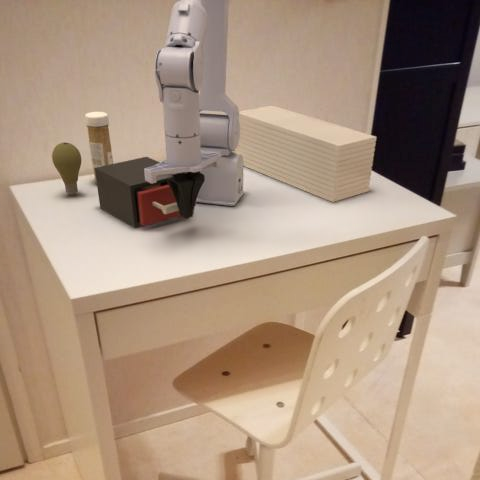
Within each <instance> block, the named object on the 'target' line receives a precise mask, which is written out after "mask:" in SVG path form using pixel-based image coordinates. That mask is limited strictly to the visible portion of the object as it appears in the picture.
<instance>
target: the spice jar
mask: <svg viewBox="0 0 480 480" xmlns="http://www.w3.org/2000/svg"><path fill="white" fill-rule="evenodd" d="M84 118H85V125H86V128H87V134H88V144H89V151H90V156H91V158H90V159H91V164H92V170H93V175H94V183H95V184H96V185H97V181H96V174H95V168H97V167H101V166H106V165H111V164H114V158H113V150H112V142H111V136H110V129H109V127H110V125H109V124H110V121H109V114H108V113H107V112H104V111H92V112H91V111H90V112H87V113H86V114H85V115H84Z"/></svg>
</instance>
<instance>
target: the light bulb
mask: <svg viewBox="0 0 480 480" xmlns="http://www.w3.org/2000/svg"><path fill="white" fill-rule="evenodd" d="M51 153H52V154H51V160H52V163H53V166H54V168H55V169H56V171H57V172H58V174H59V175H60V177H61V180H62V182H63V183H64V187H65V193H67V195H70V196H71V197H73V196H76V194H77V193H78V192H79V189H78V181H79V174H80V169H81V167H82V154H81V152H80V150H79V149H78V148H77V146H75V145H74V144H73V143H70V142H60V143H58V144H56V146H55V147H53V151H52V152H51Z"/></svg>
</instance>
